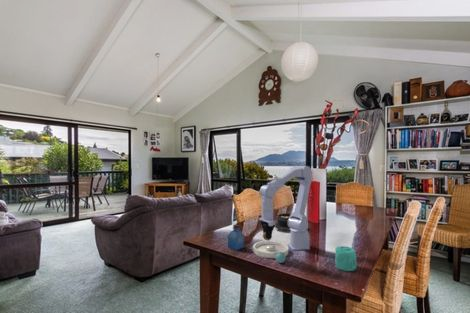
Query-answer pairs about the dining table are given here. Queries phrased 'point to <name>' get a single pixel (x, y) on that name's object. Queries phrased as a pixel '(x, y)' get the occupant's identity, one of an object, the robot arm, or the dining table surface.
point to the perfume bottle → (236, 238)
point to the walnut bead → (265, 236)
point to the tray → (267, 254)
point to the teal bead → (280, 257)
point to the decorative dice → (345, 258)
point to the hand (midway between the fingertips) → (267, 236)
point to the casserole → (282, 221)
